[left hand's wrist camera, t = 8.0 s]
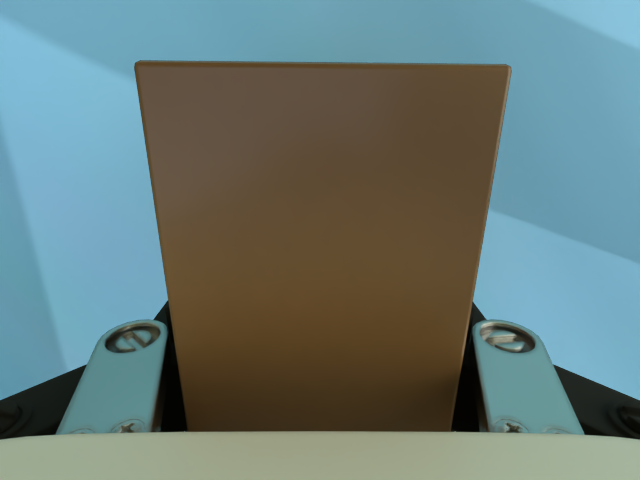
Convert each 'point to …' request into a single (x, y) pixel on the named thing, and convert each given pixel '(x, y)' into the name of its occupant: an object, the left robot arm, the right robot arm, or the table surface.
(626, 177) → the table surface
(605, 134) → the table surface
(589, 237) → the table surface
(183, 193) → the bar
